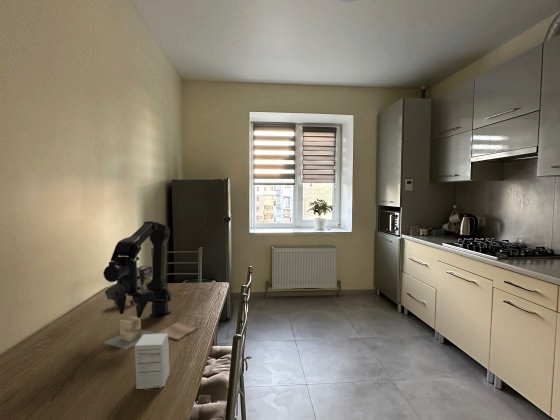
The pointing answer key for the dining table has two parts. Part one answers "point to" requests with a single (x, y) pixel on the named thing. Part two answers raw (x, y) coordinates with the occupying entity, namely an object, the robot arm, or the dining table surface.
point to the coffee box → (144, 277)
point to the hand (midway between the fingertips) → (130, 315)
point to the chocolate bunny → (125, 303)
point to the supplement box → (152, 360)
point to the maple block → (130, 328)
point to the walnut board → (178, 331)
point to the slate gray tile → (126, 344)
